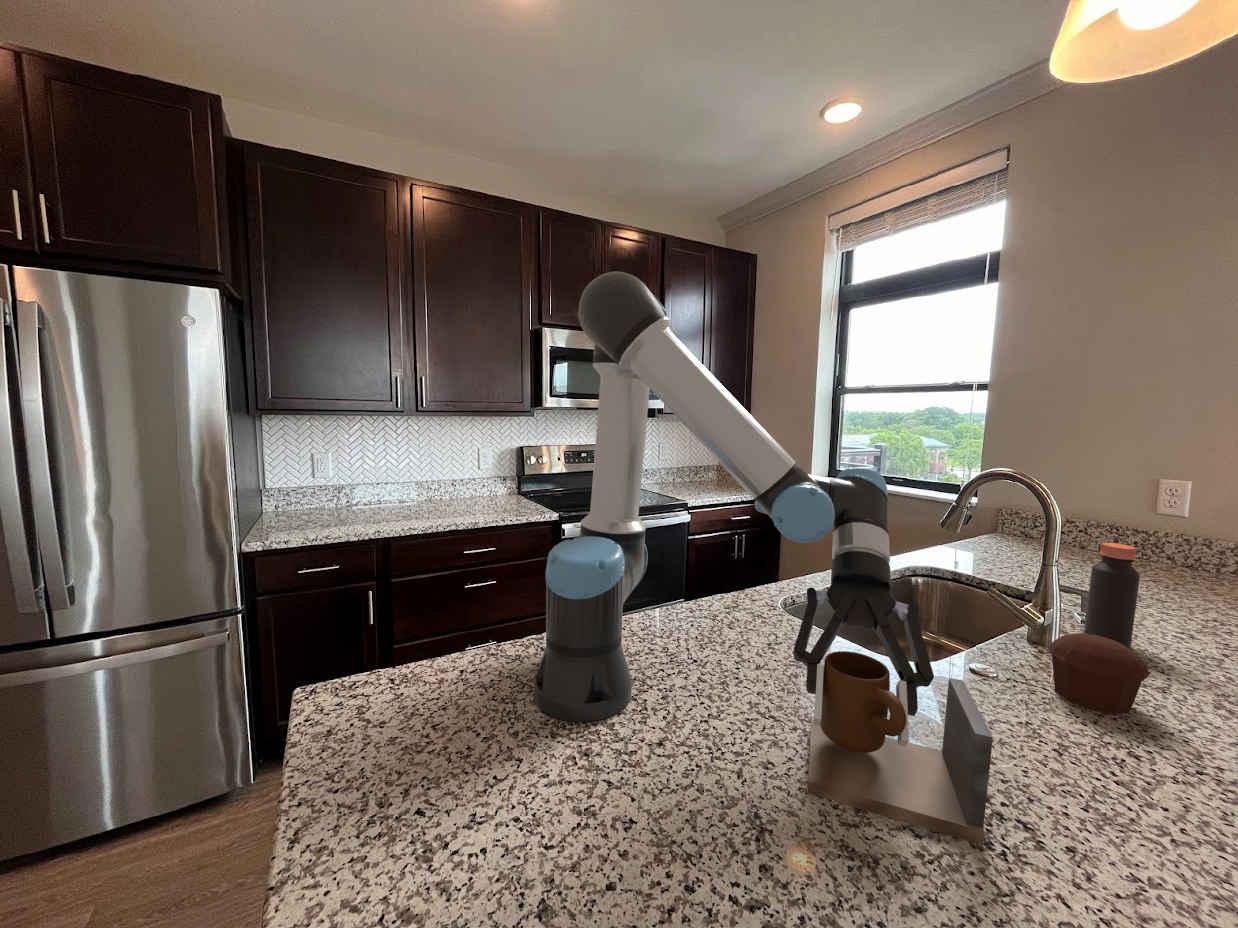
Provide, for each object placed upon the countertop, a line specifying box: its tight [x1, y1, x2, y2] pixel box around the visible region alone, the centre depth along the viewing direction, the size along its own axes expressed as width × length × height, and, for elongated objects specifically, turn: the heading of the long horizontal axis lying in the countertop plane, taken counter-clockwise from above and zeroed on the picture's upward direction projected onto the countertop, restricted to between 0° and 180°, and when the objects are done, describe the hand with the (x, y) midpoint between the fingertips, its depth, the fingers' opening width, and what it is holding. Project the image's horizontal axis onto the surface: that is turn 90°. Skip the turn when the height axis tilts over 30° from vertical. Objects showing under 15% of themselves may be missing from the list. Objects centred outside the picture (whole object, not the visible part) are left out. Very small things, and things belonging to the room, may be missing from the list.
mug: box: [821, 650, 906, 753], centre depth 60 cm, size 12×8×9 cm, turn 10°
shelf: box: [807, 677, 994, 846], centre depth 60 cm, size 17×13×12 cm
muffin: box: [1046, 632, 1151, 717], centre depth 78 cm, size 12×11×10 cm
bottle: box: [1083, 542, 1141, 649], centre depth 99 cm, size 7×7×20 cm
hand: (859, 732), depth 58 cm, fingers closed on mug, 8 cm apart
